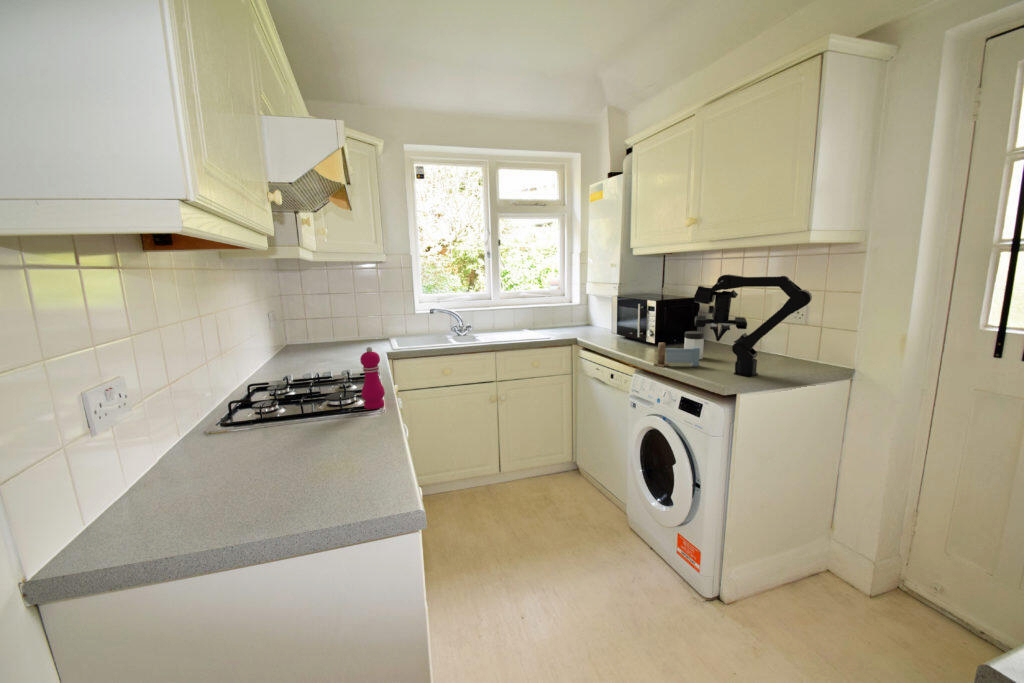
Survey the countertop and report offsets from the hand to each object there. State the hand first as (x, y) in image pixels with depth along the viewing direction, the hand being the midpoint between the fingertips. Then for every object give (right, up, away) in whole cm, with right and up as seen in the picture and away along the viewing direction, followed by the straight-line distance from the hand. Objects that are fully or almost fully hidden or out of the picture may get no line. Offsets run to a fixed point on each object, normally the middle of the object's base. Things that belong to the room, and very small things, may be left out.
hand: (717, 340), depth 171 cm
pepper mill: (-131, -22, -35) cm, 137 cm away
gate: (-12, -11, +7) cm, 17 cm away
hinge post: (-20, -11, +9) cm, 25 cm away
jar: (-1, -8, +22) cm, 23 cm away
